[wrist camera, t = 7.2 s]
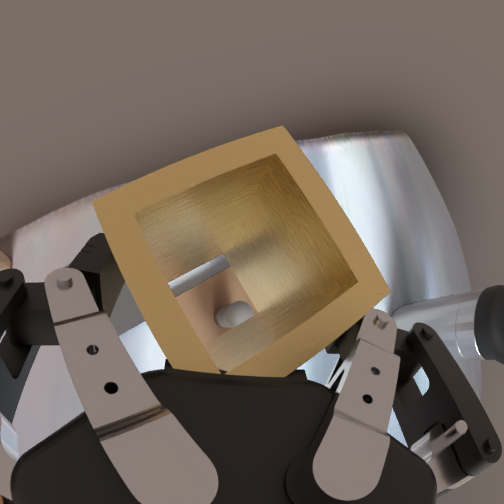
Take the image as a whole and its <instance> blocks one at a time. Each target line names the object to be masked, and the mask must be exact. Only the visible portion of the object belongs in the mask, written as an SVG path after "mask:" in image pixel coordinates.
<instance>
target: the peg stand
mask: <svg viewBox="0 0 504 504" xmlns="http://www.w3.org/2000/svg"><path fill="white" fill-rule="evenodd" d="M175 298H176V299H177V301H178V303H179V305H180V307H181V308H182V310H183V312H184V314H185V315H186V317H187V319H188V321H189V322H190V324H191V326H192V327H193V329H194V331H195V333H196V334H197V336H198V338H199V339H200V341H201V342H202V344H203V345H205V344H207V343H209V342H210V341H212V340H214V339H215V338H217V337H219V336H221V335H222V334H224V333H226V332H227V331H229V330H231V329H232V328H234V327H236V326H237V325H239V324H241V323H242V322H244V321H246V320H247V319H249V318H251V317H252V316H254V315H255V314H257V313H258V312H257V310H256V308H255V307H254V305H253V303H252V302H251V300H250V298H249V297H248V295H247V293H246V292H245V290H244V288H243V287H242V285H241V283H240V282H239V280H238V278H237V277H236V275H235V273H234V271H233V270H232V268H231V266H230V267H228V268H227V269H225V270H223V271H221V272H220V273H218V274H216V275H214V276H212V277H211V278H209V279H207V280H205V281H204V282H202V283H200V284H198V285H196V286H195V287H193V288H191V289H189V290H188V291H186V292H184V293H182V294H180V295H179V296H177V297H175Z"/></svg>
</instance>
